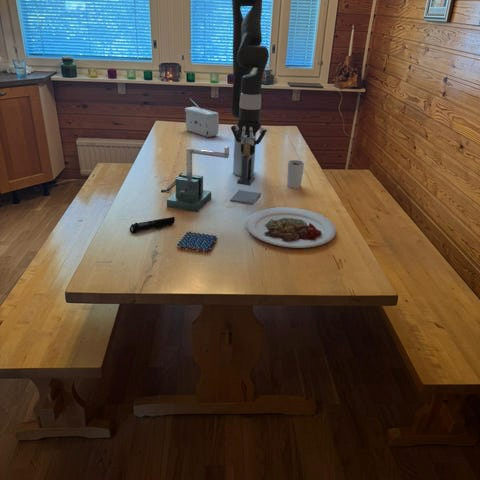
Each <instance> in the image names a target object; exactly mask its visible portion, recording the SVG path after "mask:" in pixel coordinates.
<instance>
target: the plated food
mask: <svg viewBox="0 0 480 480" xmlns="http://www.w3.org/2000/svg"><path fill="white" fill-rule="evenodd" d="M245 225H246V228H247V231H248V232H249V233H250V234H251V235H252V236H254V237H255V238H256V239H258V240H260V241H262V242H265V243H267V244H270V245H274V246H279V247H283V248H293V249H295V248H297V249H302V248H303V249H306V248H312V247H318V246H322V245H324V244H327V243H329V242H330V241H332V239H334V237H335V236H336V233H337V230H336V226H335V225H334V223H333V222H332V221H331V220H330V219H328V218H327V217H326V216H324V215H323V214H322V215H321V214H320V213H317V212H315V211H311V210H306V209H303V208H297V207H288V206H287V207H285V206H284V207H279V206H278V207H270V208H265V209H264V208H263V209H261V210H258V211H255V212H254V213H252V214H251V215H249V216H248V217H247V219H246V221H245Z"/></svg>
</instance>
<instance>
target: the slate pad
mask: <svg viewBox="0 0 480 480" xmlns="http://www.w3.org/2000/svg"><path fill="white" fill-rule="evenodd" d="M260 196H261V192H256V191H255V192H254V191H250V190H244V189H238V190H237V192H235V193H234V195H233V196H232V197H231V198H230V199H229V201H230V202H232V203H233V202H234V203H240V204H245V205H254V204H255V202H256V201H257V200H258V199H259V198H260Z"/></svg>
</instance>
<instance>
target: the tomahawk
mask: <svg viewBox="0 0 480 480" xmlns="http://www.w3.org/2000/svg"><path fill="white" fill-rule="evenodd" d="M181 174H183V172H180V173H179V174H178V176H177V177H180V175H181ZM175 186H176V181H175V180H173V182H172V183H171V184H170V185H169V186H168V187H167V188H166V189H161V191H160V192H161V193H165V192H167V193H166V194H170V193H169V192H171V191H172V189H173V188H174V187H175ZM172 187H173V188H172ZM171 188H172V189H171ZM170 190H171V191H170Z"/></svg>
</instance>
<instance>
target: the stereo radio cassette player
mask: <svg viewBox="0 0 480 480" xmlns="http://www.w3.org/2000/svg"><path fill="white" fill-rule="evenodd" d="M191 102H192V103H193V104H194V105H195V106H190V107H185V108H184V112H185V129H186V131H187V132H191V133H194V134H198V135H201V136H203V137H207V138H211V137H216V136H217V135H218V134H219V126H220V125H219V121H220V120H219V117H220V115H219V112H217V111H212V110H210V109H205V108H201V107H199V105H198V104H197V103H195V101H193V100H192V99H191Z"/></svg>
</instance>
